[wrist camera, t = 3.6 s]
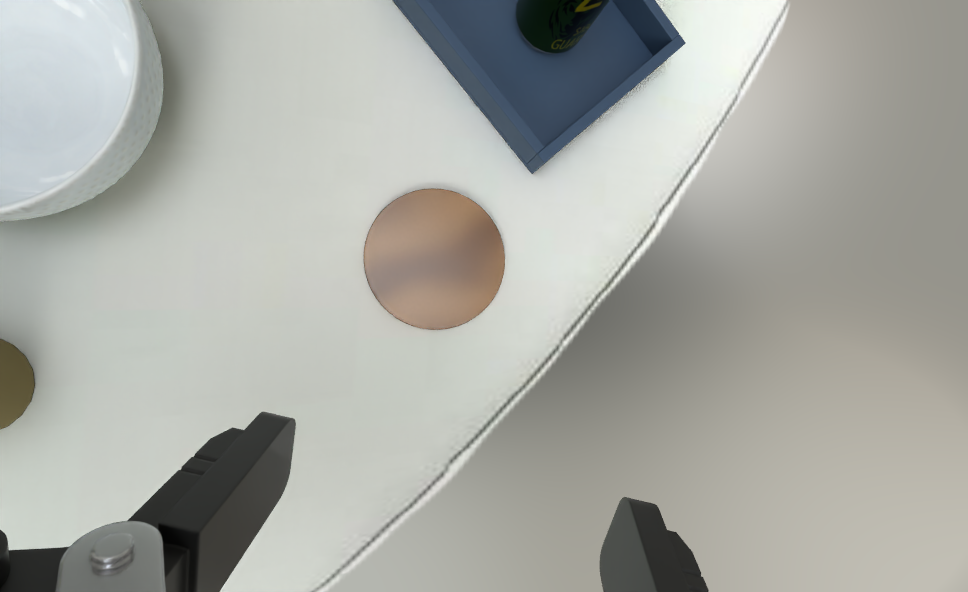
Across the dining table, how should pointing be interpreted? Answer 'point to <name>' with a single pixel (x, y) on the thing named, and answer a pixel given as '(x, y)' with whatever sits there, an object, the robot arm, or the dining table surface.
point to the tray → (543, 66)
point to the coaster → (434, 259)
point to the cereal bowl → (73, 100)
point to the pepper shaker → (14, 383)
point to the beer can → (556, 22)
